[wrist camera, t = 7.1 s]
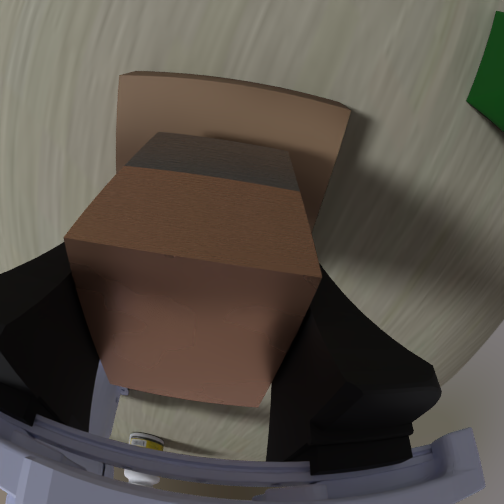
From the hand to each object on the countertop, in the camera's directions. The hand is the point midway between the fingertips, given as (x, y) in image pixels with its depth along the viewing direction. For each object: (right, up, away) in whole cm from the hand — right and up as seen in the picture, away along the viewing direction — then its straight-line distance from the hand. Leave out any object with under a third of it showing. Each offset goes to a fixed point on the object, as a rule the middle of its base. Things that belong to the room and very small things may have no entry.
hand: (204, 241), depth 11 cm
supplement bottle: (-17, -33, +34) cm, 50 cm away
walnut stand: (0, +4, +5) cm, 6 cm away
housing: (0, +1, +2) cm, 2 cm away
